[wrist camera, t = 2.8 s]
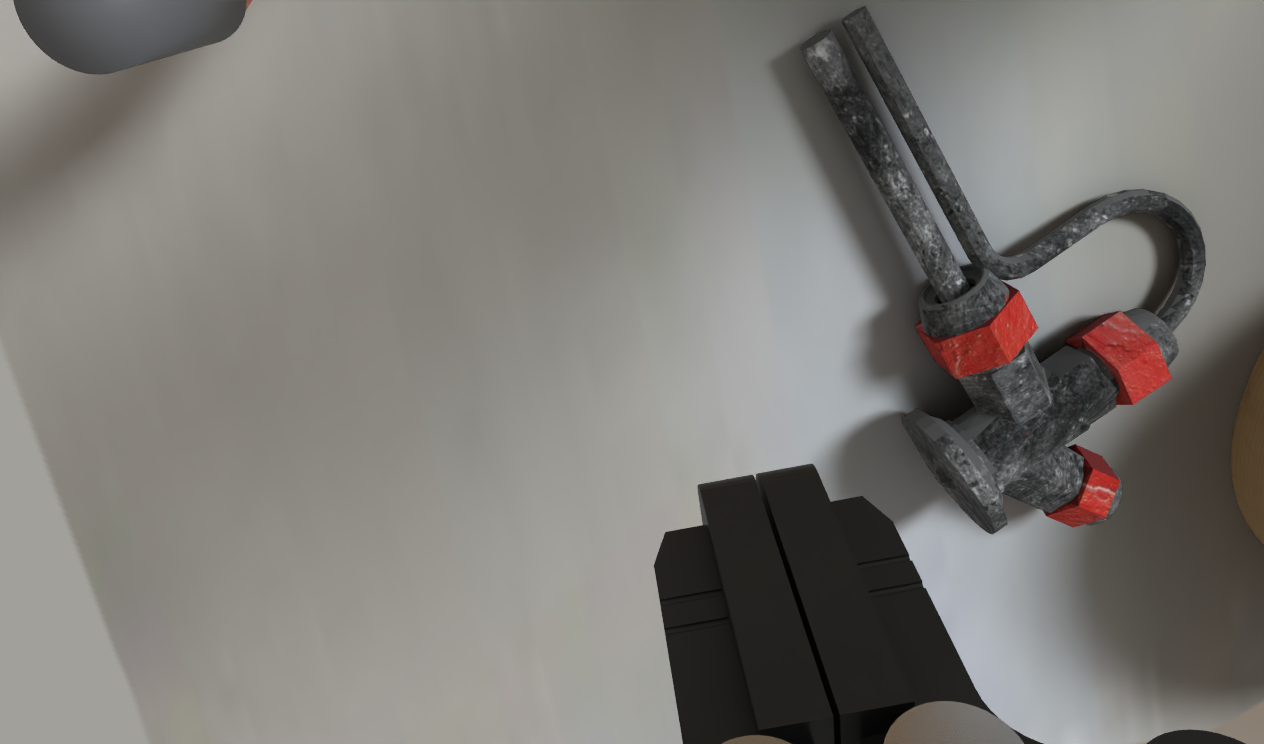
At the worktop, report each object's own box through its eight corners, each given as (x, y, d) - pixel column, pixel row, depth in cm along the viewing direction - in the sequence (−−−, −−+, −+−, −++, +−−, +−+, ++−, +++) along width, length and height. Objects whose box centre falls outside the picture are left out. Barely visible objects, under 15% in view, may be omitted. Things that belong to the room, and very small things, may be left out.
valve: (1212, 376, 45) (963, 545, 46) (1003, -113, 36) (695, 108, 36) (1325, 423, 39) (1036, 616, 40) (1108, -150, 30) (738, 116, 31)
